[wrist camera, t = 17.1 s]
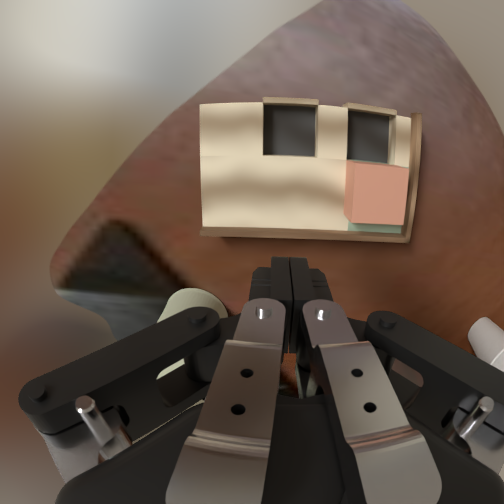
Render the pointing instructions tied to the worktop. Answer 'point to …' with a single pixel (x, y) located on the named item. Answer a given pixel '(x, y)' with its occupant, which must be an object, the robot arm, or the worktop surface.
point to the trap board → (298, 167)
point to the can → (188, 300)
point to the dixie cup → (488, 342)
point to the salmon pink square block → (375, 193)
